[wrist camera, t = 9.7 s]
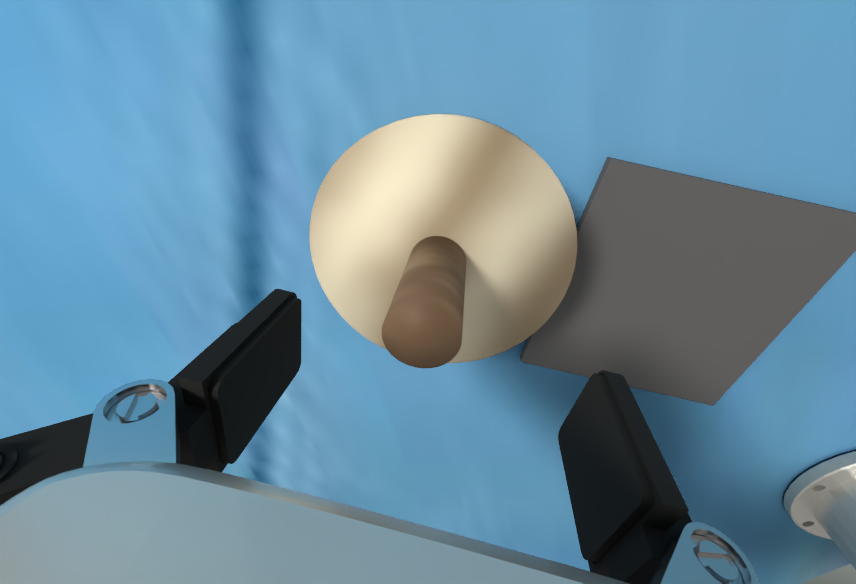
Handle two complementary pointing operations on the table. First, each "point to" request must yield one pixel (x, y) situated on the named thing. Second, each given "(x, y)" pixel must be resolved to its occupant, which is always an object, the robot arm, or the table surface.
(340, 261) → the lid
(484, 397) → the table surface
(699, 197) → the mat
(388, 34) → the table surface
